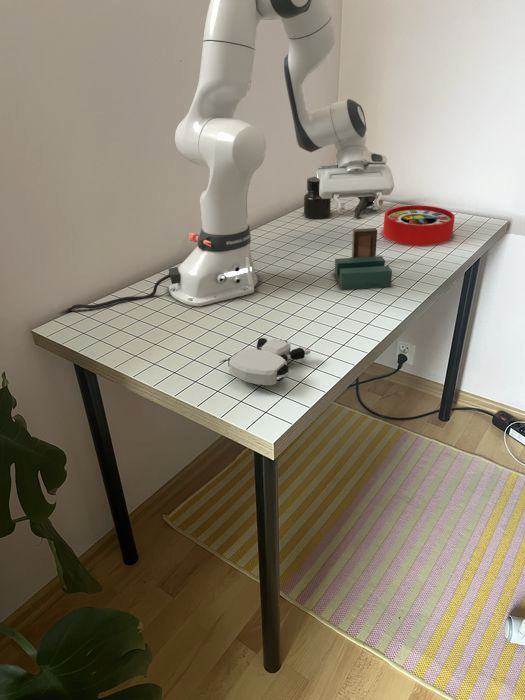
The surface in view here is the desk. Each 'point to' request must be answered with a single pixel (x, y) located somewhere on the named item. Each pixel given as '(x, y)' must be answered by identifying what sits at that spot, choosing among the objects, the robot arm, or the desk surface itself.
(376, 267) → the holder
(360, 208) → the bird figurine
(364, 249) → the frame
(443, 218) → the toy clock
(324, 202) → the ink bottle
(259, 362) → the robot toy
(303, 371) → the desk surface
